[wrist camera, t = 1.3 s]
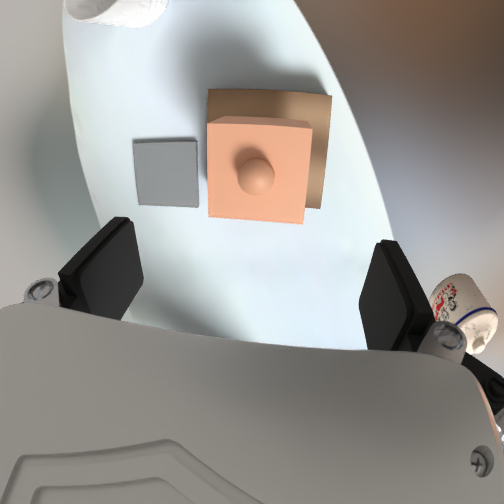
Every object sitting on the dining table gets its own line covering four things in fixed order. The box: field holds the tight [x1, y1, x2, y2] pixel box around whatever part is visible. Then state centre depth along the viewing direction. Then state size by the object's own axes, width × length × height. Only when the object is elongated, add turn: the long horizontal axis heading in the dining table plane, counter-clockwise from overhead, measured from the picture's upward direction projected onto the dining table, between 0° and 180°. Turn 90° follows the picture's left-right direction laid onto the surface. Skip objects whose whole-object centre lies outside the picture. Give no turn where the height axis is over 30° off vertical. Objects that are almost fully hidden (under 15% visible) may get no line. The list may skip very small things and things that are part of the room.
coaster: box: [133, 141, 199, 208], centre depth 33 cm, size 8×8×1 cm
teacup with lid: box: [429, 274, 498, 354], centre depth 34 cm, size 12×9×12 cm
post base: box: [208, 89, 332, 209], centre depth 26 cm, size 12×12×11 cm
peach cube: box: [207, 116, 313, 224], centre depth 22 cm, size 7×7×7 cm
